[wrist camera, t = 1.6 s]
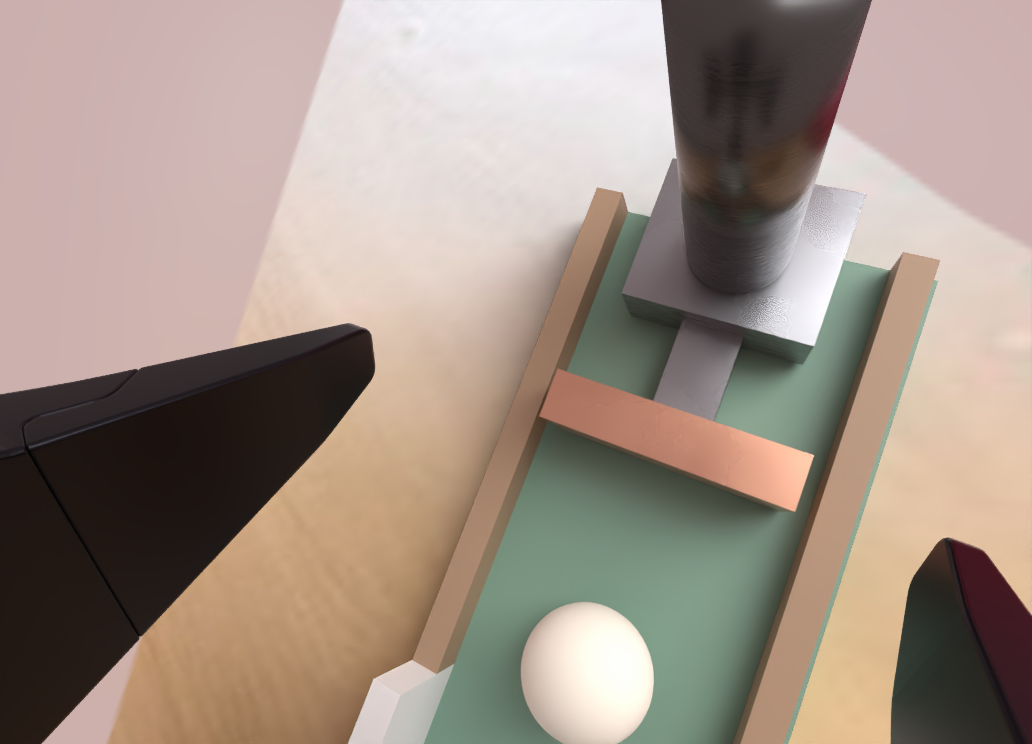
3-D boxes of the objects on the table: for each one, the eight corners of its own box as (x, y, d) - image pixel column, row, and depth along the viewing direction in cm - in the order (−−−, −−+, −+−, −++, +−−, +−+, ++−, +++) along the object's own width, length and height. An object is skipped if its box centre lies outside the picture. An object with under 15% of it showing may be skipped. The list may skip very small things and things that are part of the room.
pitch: (685, 1038, 18) (681, 1117, 16) (367, 809, 22) (327, 844, 20) (927, 291, 20) (955, 263, 18) (598, 215, 25) (587, 185, 22)
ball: (581, 747, 20) (551, 802, 16) (519, 633, 21) (477, 658, 17) (684, 684, 19) (678, 725, 15) (613, 571, 20) (591, 584, 17)
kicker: (781, 512, 19) (896, 510, 7) (564, 430, 22) (388, 330, 10) (875, 233, 20) (1113, -172, 8) (656, 189, 23) (595, -164, 11)
